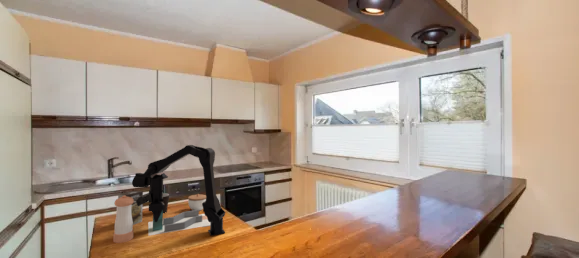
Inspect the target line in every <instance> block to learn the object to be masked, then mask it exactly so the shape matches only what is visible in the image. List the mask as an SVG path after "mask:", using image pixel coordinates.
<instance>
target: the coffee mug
mask: <svg viewBox="0 0 579 258" xmlns="http://www.w3.org/2000/svg"><path fill="white" fill-rule="evenodd" d="M169 199H170V194H169V193H164V192H163V201H160V202H163V203H164V210H163V213H164V214H166V213H167V212H168V208H169V207H168V206H169V201H170V200H169ZM165 212H166V213H165Z"/></svg>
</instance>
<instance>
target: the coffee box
mask: <svg viewBox="0 0 579 258" xmlns="http://www.w3.org/2000/svg"><path fill="white" fill-rule="evenodd" d="M124 195H126V196H127V197H132V198H133V200H134V202H133V204H131V205H132V209H131V214H132V221H133V226H134V225H137V224H140V223H142V222H143V207H144V204H142V205H140V206H138V205H137V204H136V201H135V199H136V198H137V197H139V196H142V195H144V191H141V190H131V191H127V192H123V193H118V194H117V196H118V197H117V199H118V198H120V197H122V196H124Z"/></svg>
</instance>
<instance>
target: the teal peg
mask: <svg viewBox="0 0 579 258" xmlns="http://www.w3.org/2000/svg"><path fill="white" fill-rule="evenodd" d="M163 218H164V214H163V210H162V212H161V215H160V217H159V219H158V221H157V222H154V217H153V216H152V221H153V231H155V230H161V229H163Z"/></svg>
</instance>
